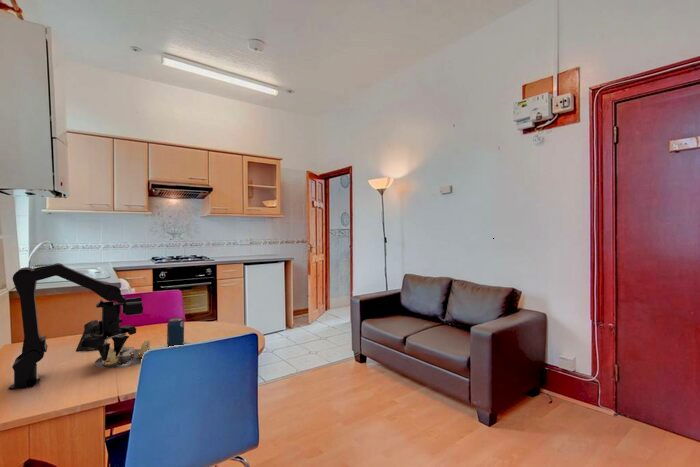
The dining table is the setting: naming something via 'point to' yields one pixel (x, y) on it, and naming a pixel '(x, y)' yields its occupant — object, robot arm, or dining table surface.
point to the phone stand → (86, 337)
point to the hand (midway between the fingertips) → (110, 358)
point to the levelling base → (122, 363)
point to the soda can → (175, 332)
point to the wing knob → (110, 359)
